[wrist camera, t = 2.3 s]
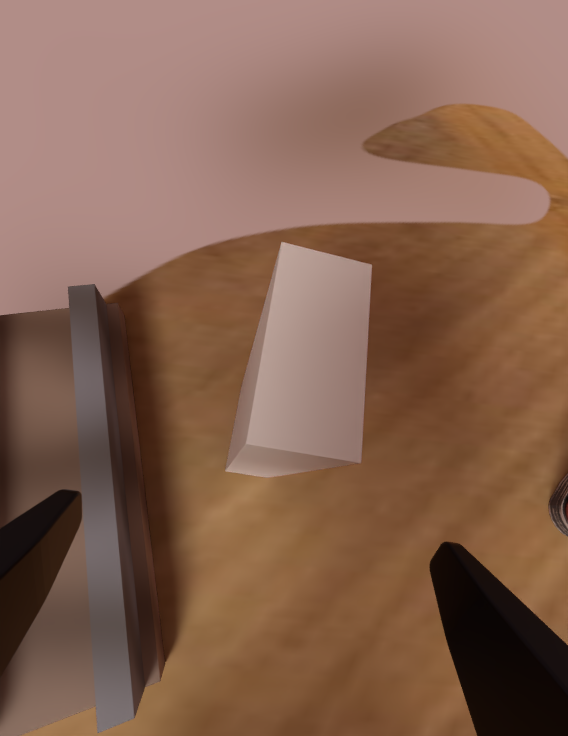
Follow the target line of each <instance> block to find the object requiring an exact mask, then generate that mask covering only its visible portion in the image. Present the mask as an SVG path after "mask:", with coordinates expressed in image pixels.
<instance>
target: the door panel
mask: <svg viewBox="0 0 568 736" xmlns="http://www.w3.org/2000/svg"><path fill="white" fill-rule="evenodd" d="M371 273H372V265H371V264H367V263H363V262H359V261H355V260H351V259H347V258H343V257H339V256H335V255H332V254H328V253H324V252H320V251H316V250H312V249H308V248H304V247H300V246H296V245H292V244H288V243H284V242H281V246H280V250H279V253H278V257H277V260H276V264H275V268H274V271H273V275H272V278H271V282H270V285H269V289H268V293H267V296H266V300H265V303H264V307H263V311H262V314H261V318H260V321H259V325H258V329H257V332H256V336H255V339H254V343H253V346H252V350H251V354H250V357H249V361H248V364H247V368H246V372H245V375H244V379H243V382H242V386H241V391H240V396H239V401H238V407H237V412H236V417H235V422H234V427H233V433H232V438H231V443H230V448H229V453H228V458H227V464H226V469H225V471H228V472H234V473H241V474H247V475H253V476H260V477H266V478H268V477H275V476H281V475H288V474H294V473H301V472H307V471H314V470H320V469H327V468H333V467H340V466H346V465H352V464H359V463H361V457H362V439H363V421H364V402H365V384H366V365H367V347H368V328H369V310H370V291H371Z"/></svg>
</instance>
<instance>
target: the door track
mask: <svg viewBox="0 0 568 736" xmlns="http://www.w3.org/2000/svg"><path fill="white" fill-rule="evenodd" d="M68 294H69V308H65V309H55V310H47V311H37V312H27V313H18V314H9V315H1V316H0V528H1V527H3V526H4V525H6V524H7V523H9V522H10V521H12V520H14V519H15V518H17V517H18V516H20V515H21V514H23V513H24V512H26V511H27V510H29V509H31V508H32V507H34V506H35V505H37V504H38V503H40V502H41V501H43V500H44V499H46V498H47V497H49V496H51V495H52V494H54V493H55V492H57V491H58V490H61V489H68V490H76V491H80V492H81V495H82V520H81V524H80V527H79V529H78V531H77V533H76V535H75V538H74V540H73V542H72V544H71V546H70V549H69V551H68V553H67V555H66V557H65V559H64V562H63V564H62V566H61V568H60V570H59V572H58V575H57V577H56V579H55V581H54V583H53V586H52V588H51V590H50V592H49V594H48V596H47V598H46V600H45V602H44V604H43V606H42V607H41V609H40V611H39V613H38V614H37V616H36V618H35V620H34V621H33V623H32V625H31V627H30V628H29V630H28V632H27V633H26V635H25V637H24V639H23V640H22V642H21V644H20V646H19V647H18V649H17V651H16V652H15V654H14V656H13V658H12V659H11V661H10V663H9V665H8V666H7V668H6V670H5V671H4V673H3V675H2V677H1V678H0V736H20V735H23V734H25V733H28V732H30V731H33V730H36V729H38V728H41V727H43V726H46V725H49V724H51V723H54V722H56V721H59V720H61V719H64V718H67V717H69V716H72V715H74V714H77V713H80V712H82V711H85V710H87V709H90V708H92V707H95V706H96V716H97V731H98V733H99V732H102V731H104V730H107V729H109V728H112V727H114V726H117V725H119V724H121V723H124V722H126V721H129V720H131V719H134V718H135V715H136V712H137V709H138V706H139V703H140V701H141V698H142V695H143V692H144V689H145V687H147V686H149V685H152V684H154V683H157V682H160V681H161V677H162V673H163V670H164V666H165V658H164V649H163V640H162V632H161V623H160V615H159V606H158V598H157V589H156V581H155V572H154V564H153V555H152V547H151V538H150V530H149V521H148V513H147V504H146V496H145V487H144V479H143V470H142V461H141V453H140V444H139V436H138V427H137V419H136V410H135V402H134V393H133V385H132V376H131V368H130V359H129V351H128V342H127V334H126V325H125V317H124V314H123V312H122V310H121V308H120V306H119V304H118V303H111V304H106V303H105V301H104V299H103V298H102V296H101V295H100V293H99V291H98V290H97V288H96V286H95V284H92V285H81V286H70V287H68Z"/></svg>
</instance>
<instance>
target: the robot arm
mask: <svg viewBox="0 0 568 736" xmlns="http://www.w3.org/2000/svg"><path fill="white" fill-rule="evenodd" d="M81 520H82V495H81V492H80V491H76V490H68V489H61V490H58V491H57V492H55V493H54V494H52V495H51V496H49V497H47V498H46V499H44V500H43V501H41V502H40V503H38V504H37V505H35V506H34V507H32V508H31V509H29V510H27V511H26V512H24V513H23V514H21V515H20V516H18V517H17V518H15V519H14V520H12V521H10V522H9V523H7V524H6V525H4V526H3V527H1V528H0V678H1V677H2V675H3V673H4V671H5V670H6V668H7V666H8V665H9V663H10V661H11V659H12V658H13V656H14V654H15V652H16V651H17V649H18V647H19V646H20V644H21V642H22V640H23V639H24V637H25V635H26V633H27V632H28V630H29V628H30V627H31V625H32V623H33V621H34V620H35V618H36V616H37V614H38V613H39V611H40V609H41V607H42V606H43V604H44V602H45V600H46V598H47V596H48V594H49V592H50V590H51V588H52V586H53V583H54V581H55V579H56V577H57V575H58V572H59V570H60V568H61V566H62V564H63V562H64V559H65V557H66V555H67V553H68V551H69V549H70V546H71V544H72V542H73V540H74V538H75V535H76V533H77V531H78V529H79V527H80V524H81ZM430 574H431V578H432V582H433V586H434V591H435V595H436V599H437V603H438V608H439V612H440V616H441V620H442V625H443V629H444V633H445V636H446V640H447V643H448V647H449V650H450V653H451V656H452V659H453V662H454V665H455V668H456V671H457V675H458V678H459V681H460V684H461V687H462V690H463V693H464V696H465V699H466V702H467V705H468V709H469V712H470V715H471V718H472V721H473V724H474V727H475V730H476V733H477V736H568V645H567V644H566V643H565V642H564V641H563V640H562V639H561V638H559V637H558V636H557V635H556V634H555V633H554V632H553V631H552V630H551V629H550V628H549V627H548V626H547V625H546V624H545V623H544V622H543V621H541V620H540V619H539V618H538V617H537V616H536V615H535V614H534V613H533V612H532V611H531V610H530V609H529V608H528V607H527V606H526V605H524V604H523V603H522V602H521V601H520V600H519V599H518V598H517V597H516V596H515V595H514V594H513V593H512V592H511V591H510V590H509V589H508V588H506V587H505V586H504V585H503V584H502V583H501V582H500V581H499V580H498V579H497V578H496V577H495V576H494V575H493V574H492V573H491V572H490V571H488V570H487V569H486V568H485V567H484V566H483V565H482V564H481V563H480V562H479V561H478V560H477V559H476V558H475V557H474V556H473V555H472V554H470V553H469V552H468V551H467V550H466V549H465V548H464V547H463V546H462V545H460V544H458V543H453V542H443V543H442V544H441V545H440V547H439V548H438V550H437V551H436V553H435V554H434V556H433V558H432V559H431V561H430Z"/></svg>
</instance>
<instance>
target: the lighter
mask: <svg viewBox="0 0 568 736" xmlns="http://www.w3.org/2000/svg"><path fill="white" fill-rule="evenodd" d="M549 513H550V517H551V520H552V521H553V523H554V525H555V526H556V528H557V529H558V530H559V531H560V532H561V533H563V534H564V535H566V536H568V474H567V475H566V476H565V477H564V479H563V480H562V481H561V482H560V484H559V485H558V487H557V489H556V491H555V492H554V494H553V496H552V497H551V499H550V502H549Z"/></svg>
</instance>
